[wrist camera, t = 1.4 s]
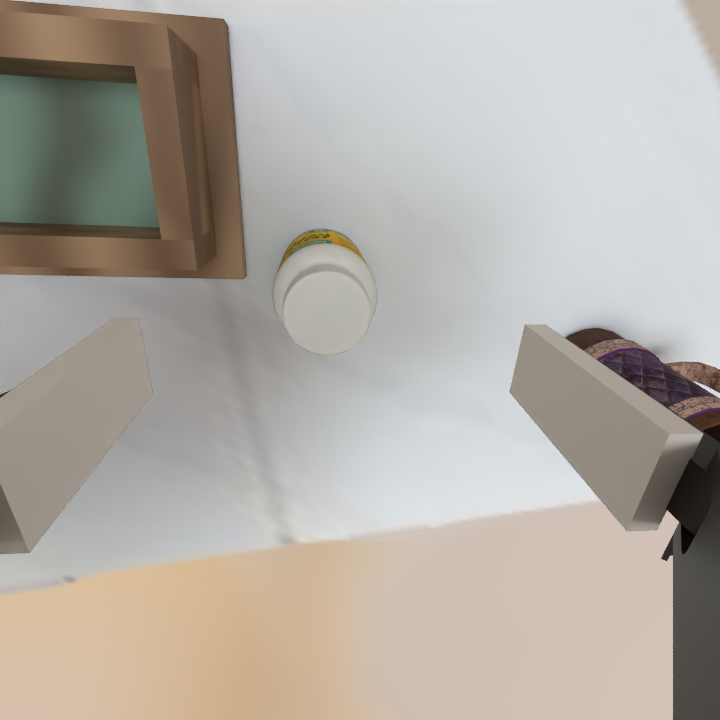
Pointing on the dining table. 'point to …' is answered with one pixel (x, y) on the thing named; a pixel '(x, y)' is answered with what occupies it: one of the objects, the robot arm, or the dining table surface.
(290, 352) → the dining table surface
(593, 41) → the dining table surface
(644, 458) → the robot arm
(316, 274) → the supplement bottle
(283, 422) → the dining table surface
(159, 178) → the walnut caddy
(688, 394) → the mug
